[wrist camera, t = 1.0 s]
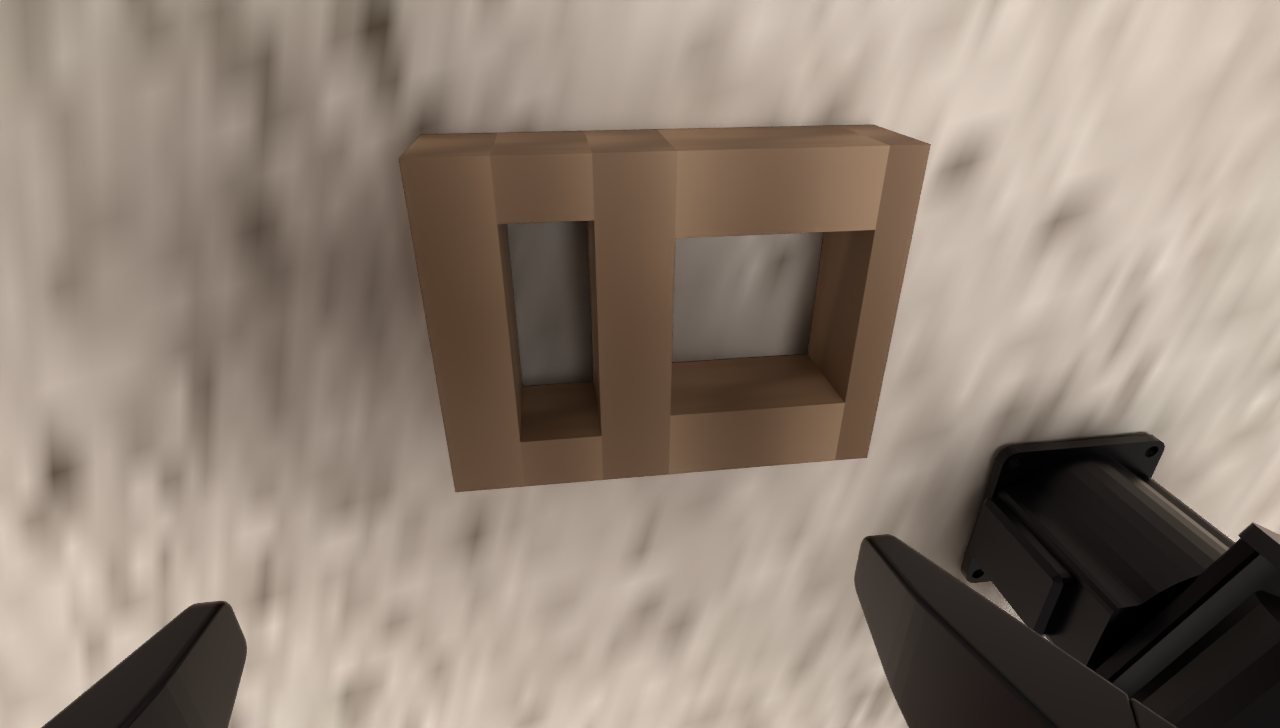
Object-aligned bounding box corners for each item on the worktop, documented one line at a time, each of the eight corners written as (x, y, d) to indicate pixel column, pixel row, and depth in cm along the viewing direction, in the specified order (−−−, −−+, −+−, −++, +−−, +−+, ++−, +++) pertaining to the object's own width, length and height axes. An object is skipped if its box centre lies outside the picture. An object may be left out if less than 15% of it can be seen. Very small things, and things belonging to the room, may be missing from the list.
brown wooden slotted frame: (873, 124, 18) (930, 144, 15) (828, 404, 22) (867, 457, 20) (421, 134, 16) (398, 158, 14) (465, 431, 21) (455, 492, 18)
